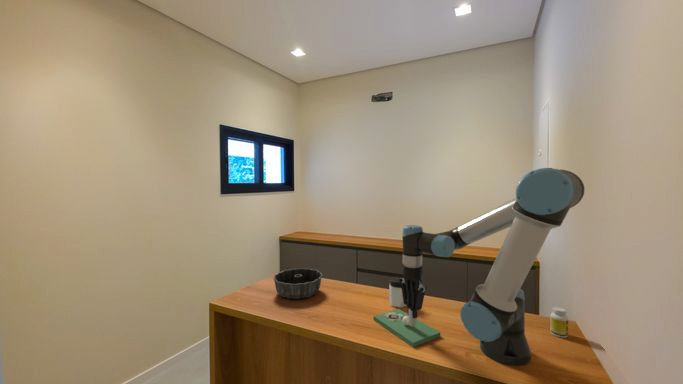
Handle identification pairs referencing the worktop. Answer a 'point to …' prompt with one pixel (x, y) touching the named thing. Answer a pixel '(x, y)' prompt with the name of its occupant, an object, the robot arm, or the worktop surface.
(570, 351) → the worktop surface
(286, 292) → the bundt pan
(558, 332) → the supplement bottle
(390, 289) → the jar
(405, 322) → the ball
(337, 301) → the worktop surface
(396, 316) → the mat
